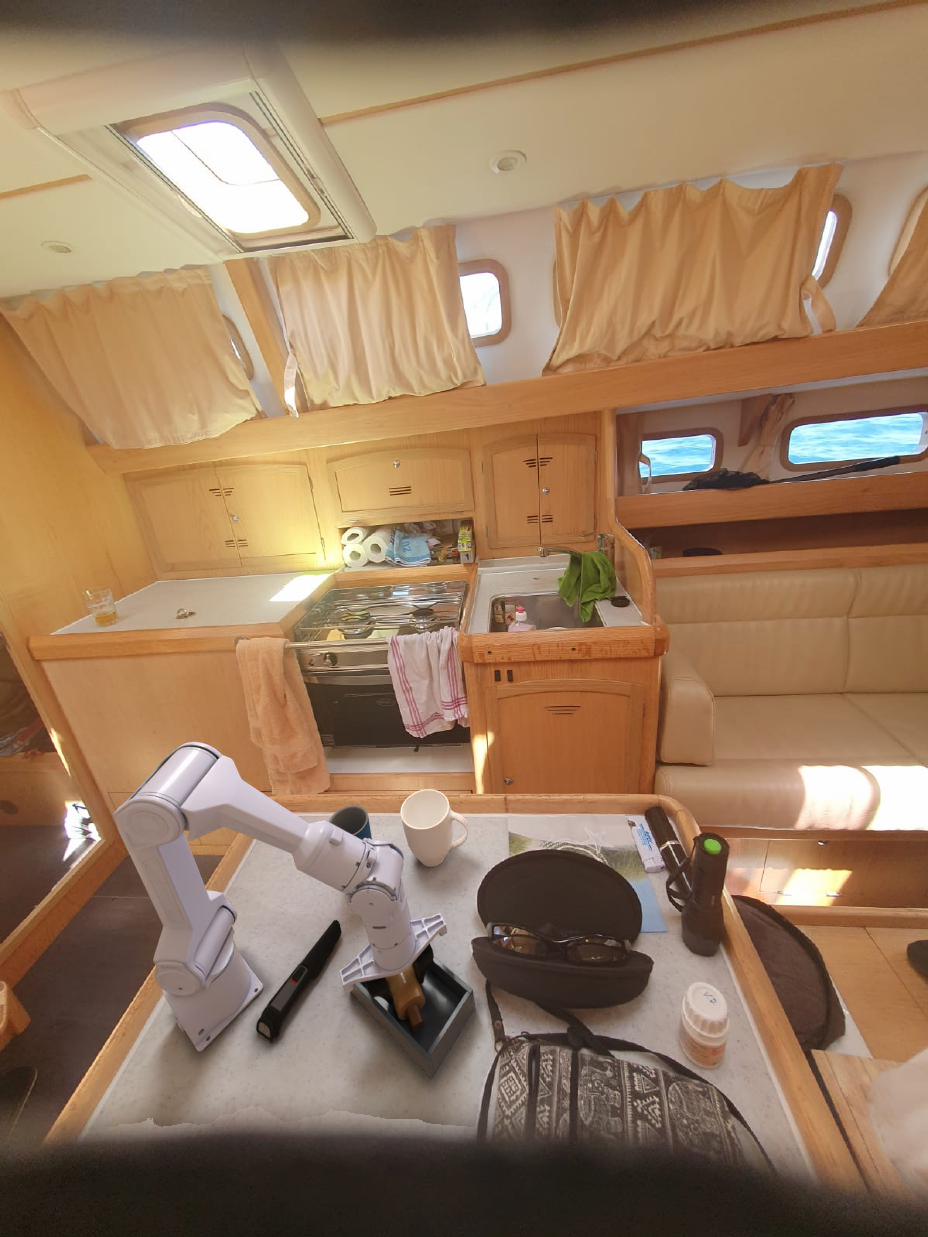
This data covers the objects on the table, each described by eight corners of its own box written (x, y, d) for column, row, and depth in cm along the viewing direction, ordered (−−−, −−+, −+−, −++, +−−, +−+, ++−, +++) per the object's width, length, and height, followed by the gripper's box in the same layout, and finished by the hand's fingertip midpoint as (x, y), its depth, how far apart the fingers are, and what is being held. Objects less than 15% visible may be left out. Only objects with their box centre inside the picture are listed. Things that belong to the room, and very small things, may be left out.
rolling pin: (407, 1044, 59) (401, 1029, 57) (380, 963, 68) (375, 947, 67) (434, 1025, 60) (430, 1009, 59) (405, 948, 70) (400, 932, 68)
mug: (405, 875, 82) (395, 827, 77) (414, 834, 90) (406, 789, 85) (468, 877, 80) (462, 829, 75) (472, 835, 88) (467, 789, 83)
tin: (431, 1080, 56) (427, 1061, 54) (350, 991, 66) (344, 973, 64) (475, 1008, 62) (473, 989, 60) (395, 937, 72) (391, 919, 70)
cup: (375, 857, 86) (360, 799, 80) (388, 885, 80) (374, 824, 74) (340, 876, 83) (322, 817, 77) (351, 907, 77) (333, 845, 71)
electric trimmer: (349, 936, 73) (346, 924, 72) (273, 1046, 60) (267, 1033, 59) (332, 927, 75) (328, 914, 73) (255, 1031, 62) (248, 1018, 61)
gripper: (427, 874, 64) (438, 933, 70) (326, 928, 59) (347, 988, 64) (449, 917, 59) (459, 978, 64) (339, 981, 53) (360, 1042, 58)
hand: (404, 986), depth 64 cm, fingers closed on rolling pin, 4 cm apart
